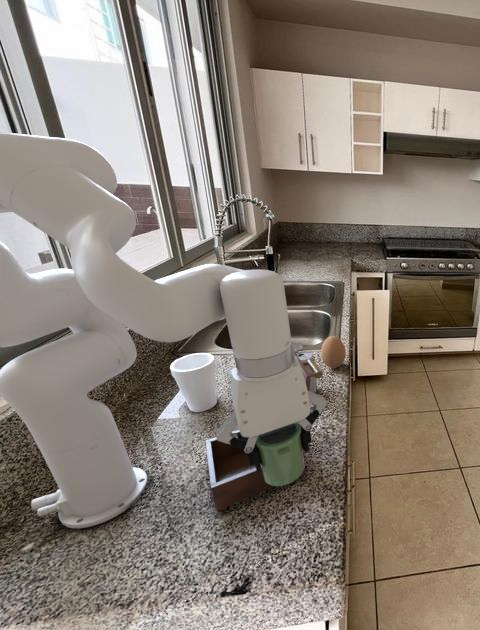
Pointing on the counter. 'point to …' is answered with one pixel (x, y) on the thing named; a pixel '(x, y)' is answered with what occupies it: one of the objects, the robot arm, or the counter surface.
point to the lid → (314, 369)
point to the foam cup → (196, 380)
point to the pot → (281, 454)
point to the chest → (232, 474)
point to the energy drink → (304, 357)
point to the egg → (333, 352)
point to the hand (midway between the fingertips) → (281, 454)
